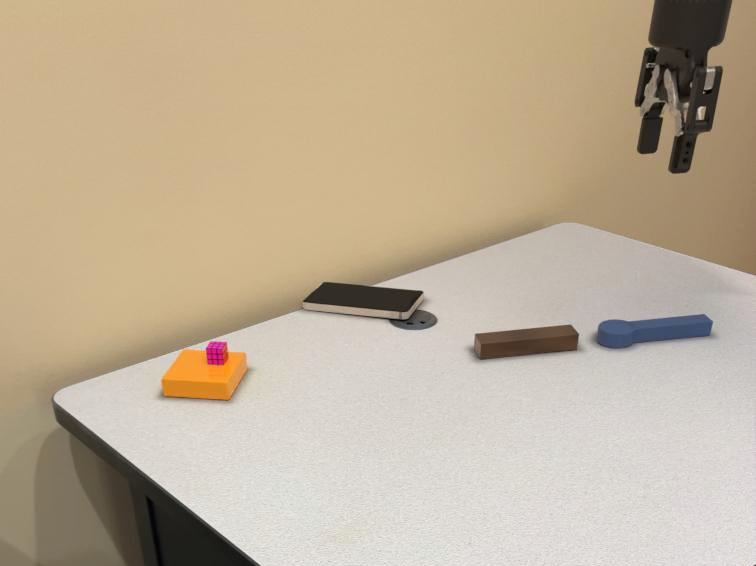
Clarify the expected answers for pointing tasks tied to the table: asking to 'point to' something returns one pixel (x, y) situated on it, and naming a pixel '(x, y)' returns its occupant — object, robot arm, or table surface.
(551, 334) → the walnut bar
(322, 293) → the smartphone
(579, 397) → the table surface
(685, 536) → the table surface
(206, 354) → the orange square platform
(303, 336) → the table surface
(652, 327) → the spoon
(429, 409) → the table surface
